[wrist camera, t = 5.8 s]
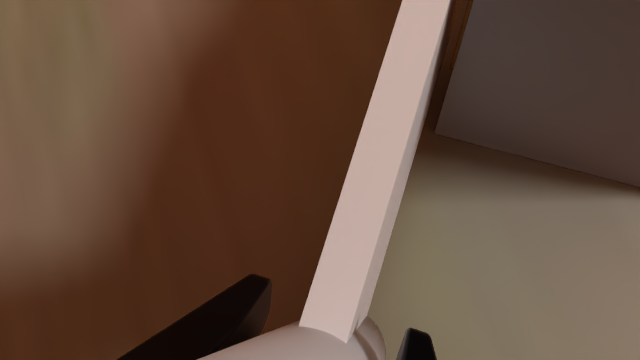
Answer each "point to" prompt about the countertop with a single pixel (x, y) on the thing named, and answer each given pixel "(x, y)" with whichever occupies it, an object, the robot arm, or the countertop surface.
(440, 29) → the side door
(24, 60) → the countertop surface
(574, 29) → the grey box
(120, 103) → the countertop surface
